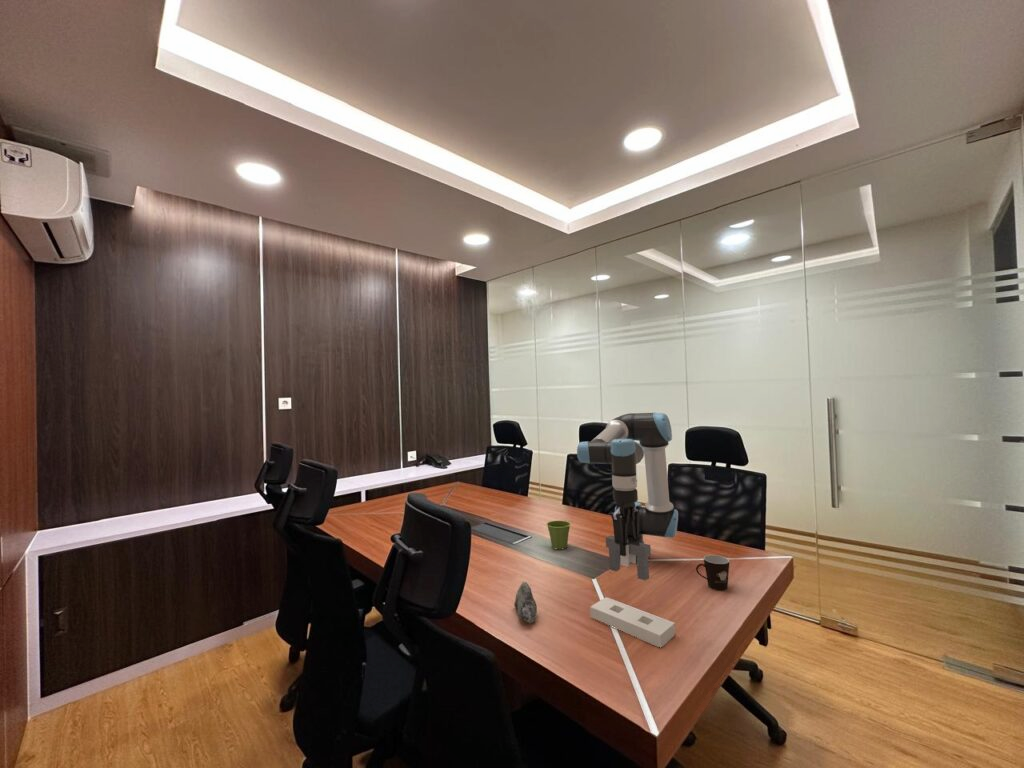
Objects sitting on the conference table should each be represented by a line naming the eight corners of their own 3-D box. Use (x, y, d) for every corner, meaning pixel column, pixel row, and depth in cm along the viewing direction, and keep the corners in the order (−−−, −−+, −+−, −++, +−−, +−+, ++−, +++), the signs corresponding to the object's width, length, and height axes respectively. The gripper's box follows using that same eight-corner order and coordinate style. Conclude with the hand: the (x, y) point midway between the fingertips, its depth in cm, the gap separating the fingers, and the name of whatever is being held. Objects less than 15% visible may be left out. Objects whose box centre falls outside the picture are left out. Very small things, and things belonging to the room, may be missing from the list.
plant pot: (575, 545, 200) (574, 521, 201) (565, 553, 190) (564, 528, 191) (554, 541, 207) (553, 518, 207) (542, 549, 197) (541, 525, 197)
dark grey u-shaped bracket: (607, 569, 133) (605, 537, 134) (612, 566, 135) (610, 535, 136) (647, 581, 123) (645, 547, 123) (651, 578, 125) (650, 545, 125)
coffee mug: (728, 583, 155) (727, 556, 155) (732, 593, 146) (731, 564, 147) (695, 579, 158) (693, 553, 159) (697, 589, 150) (695, 561, 151)
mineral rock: (530, 630, 128) (529, 597, 128) (500, 622, 133) (499, 591, 133) (546, 610, 140) (545, 580, 140) (518, 604, 144) (517, 575, 145)
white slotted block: (590, 617, 134) (590, 606, 134) (606, 607, 140) (606, 596, 140) (660, 648, 116) (660, 635, 116) (675, 634, 122) (674, 622, 123)
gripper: (621, 494, 122) (625, 575, 121) (648, 485, 133) (652, 559, 132) (600, 491, 127) (603, 568, 126) (627, 482, 138) (631, 553, 137)
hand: (628, 563), depth 129 cm, fingers closed on dark grey u-shaped bracket, 3 cm apart
